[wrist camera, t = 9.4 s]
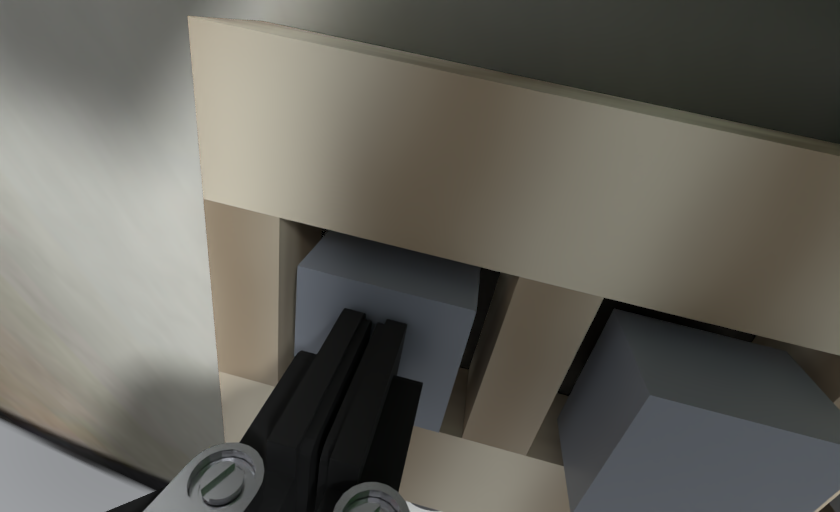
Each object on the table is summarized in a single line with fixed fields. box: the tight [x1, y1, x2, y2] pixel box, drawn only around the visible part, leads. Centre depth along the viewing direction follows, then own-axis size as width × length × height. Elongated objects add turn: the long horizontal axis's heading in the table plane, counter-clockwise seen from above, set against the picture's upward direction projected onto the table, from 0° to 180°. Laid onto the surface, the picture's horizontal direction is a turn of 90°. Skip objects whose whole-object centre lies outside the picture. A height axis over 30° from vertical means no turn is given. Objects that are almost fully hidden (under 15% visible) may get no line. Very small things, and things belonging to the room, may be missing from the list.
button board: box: [187, 16, 840, 512], centre depth 12 cm, size 26×14×3 cm, turn 80°
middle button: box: [557, 309, 840, 512], centre depth 10 cm, size 4×4×3 cm
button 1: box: [294, 230, 481, 433], centre depth 12 cm, size 4×4×3 cm
